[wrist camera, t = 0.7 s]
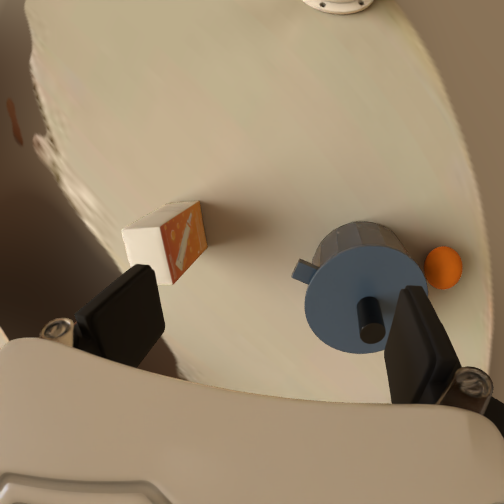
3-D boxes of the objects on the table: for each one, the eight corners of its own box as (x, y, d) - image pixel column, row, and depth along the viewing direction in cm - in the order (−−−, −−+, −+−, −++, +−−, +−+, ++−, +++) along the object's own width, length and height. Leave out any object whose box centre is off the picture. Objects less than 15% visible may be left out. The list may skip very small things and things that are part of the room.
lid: (340, 219, 32) (344, 241, 26) (447, 273, 32) (466, 302, 26) (285, 323, 40) (277, 356, 34) (382, 361, 39) (387, 394, 33)
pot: (321, 196, 41) (321, 217, 32) (435, 254, 40) (458, 285, 31) (281, 281, 48) (271, 317, 39) (387, 325, 47) (396, 365, 38)
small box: (208, 247, 49) (173, 286, 37) (175, 248, 50) (134, 284, 39) (200, 199, 45) (159, 226, 34) (165, 202, 47) (119, 229, 35)
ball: (431, 233, 39) (446, 249, 33) (460, 250, 39) (475, 267, 33) (412, 267, 42) (422, 288, 36) (440, 282, 42) (452, 303, 36)
